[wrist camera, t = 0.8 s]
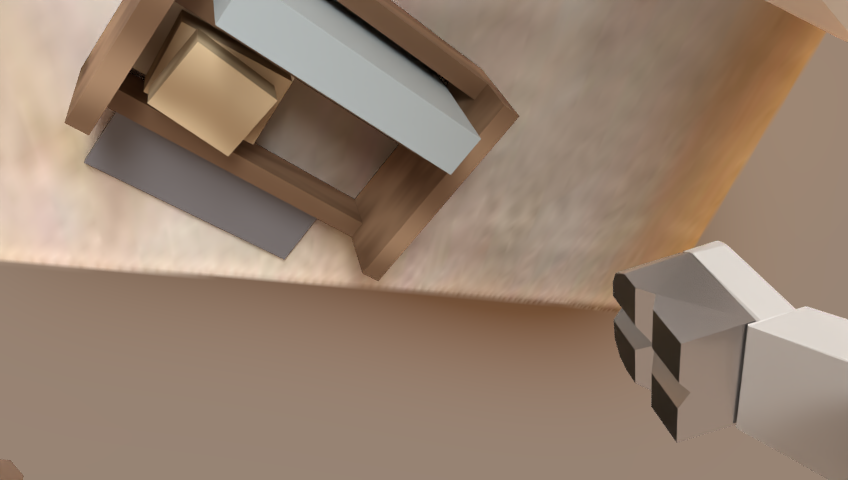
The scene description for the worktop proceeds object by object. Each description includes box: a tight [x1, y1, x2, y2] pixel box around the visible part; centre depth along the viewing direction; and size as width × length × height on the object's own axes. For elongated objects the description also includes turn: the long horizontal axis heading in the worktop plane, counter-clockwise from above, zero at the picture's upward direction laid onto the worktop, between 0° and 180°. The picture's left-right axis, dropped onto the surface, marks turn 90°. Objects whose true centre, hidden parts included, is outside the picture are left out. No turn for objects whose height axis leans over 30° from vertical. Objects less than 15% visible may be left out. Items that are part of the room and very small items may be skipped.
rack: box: [65, 0, 519, 281], centre depth 43 cm, size 13×19×7 cm
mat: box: [84, 112, 317, 259], centre depth 48 cm, size 4×14×1 cm, turn 51°
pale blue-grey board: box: [213, 0, 481, 175], centre depth 40 cm, size 2×14×10 cm, turn 51°
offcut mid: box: [143, 10, 292, 144], centre depth 42 cm, size 4×6×2 cm
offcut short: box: [147, 28, 278, 156], centre depth 41 cm, size 4×5×2 cm
